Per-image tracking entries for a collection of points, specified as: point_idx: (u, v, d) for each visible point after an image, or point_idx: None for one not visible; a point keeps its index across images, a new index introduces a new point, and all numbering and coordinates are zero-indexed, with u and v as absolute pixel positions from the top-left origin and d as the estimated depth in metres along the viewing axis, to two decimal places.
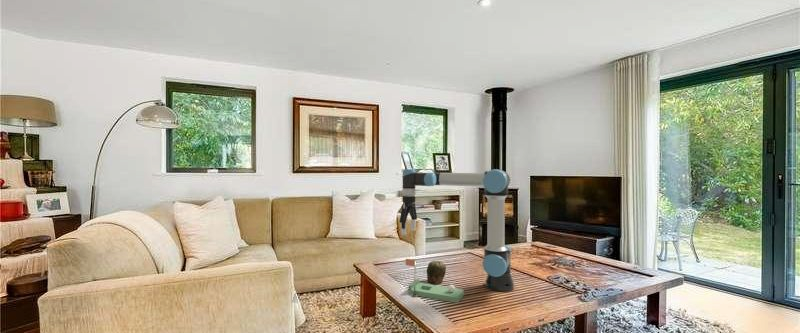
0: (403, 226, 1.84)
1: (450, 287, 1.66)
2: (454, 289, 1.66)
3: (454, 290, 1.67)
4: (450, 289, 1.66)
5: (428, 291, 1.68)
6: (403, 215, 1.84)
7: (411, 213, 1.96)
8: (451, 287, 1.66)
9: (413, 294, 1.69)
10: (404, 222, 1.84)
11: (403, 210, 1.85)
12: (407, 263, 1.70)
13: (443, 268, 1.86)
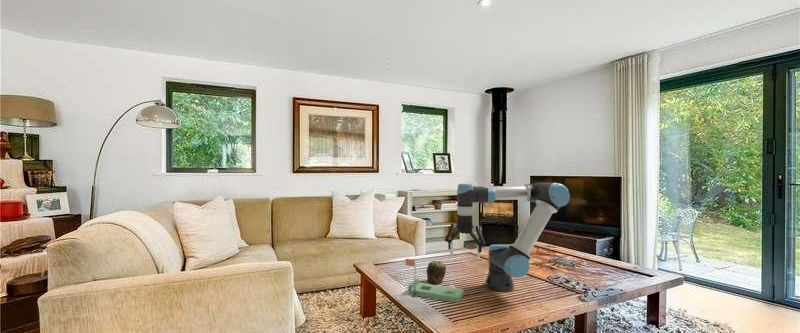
0: None
1: (450, 287, 1.66)
2: (454, 289, 1.66)
3: (454, 290, 1.67)
4: (450, 289, 1.66)
5: (428, 291, 1.68)
6: None
7: None
8: (451, 287, 1.66)
9: (413, 294, 1.69)
10: (448, 242, 1.68)
11: None
12: (407, 263, 1.70)
13: (443, 268, 1.86)
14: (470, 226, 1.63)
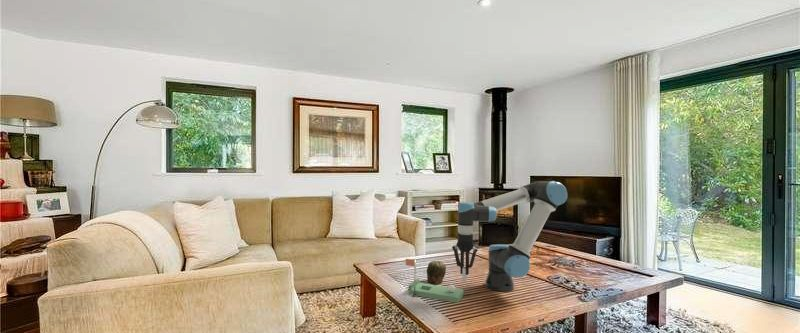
0: None
1: (450, 287, 1.66)
2: (454, 289, 1.66)
3: (454, 290, 1.67)
4: (450, 289, 1.66)
5: (428, 291, 1.68)
6: None
7: None
8: (451, 287, 1.66)
9: (413, 294, 1.69)
10: (461, 267, 1.65)
11: None
12: (407, 263, 1.70)
13: (443, 268, 1.86)
14: (471, 245, 1.63)
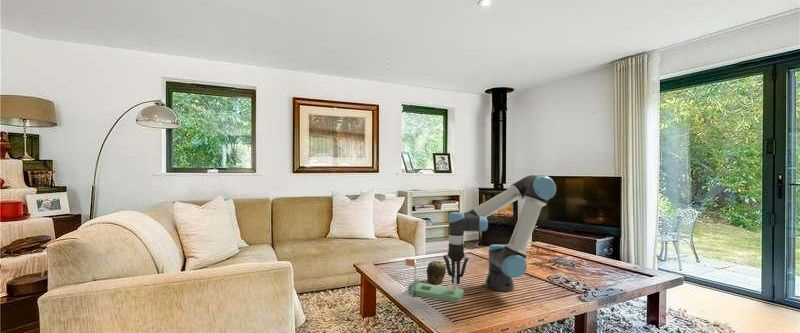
0: None
1: (449, 287, 1.66)
2: (453, 288, 1.67)
3: None
4: (449, 289, 1.66)
5: (428, 291, 1.68)
6: None
7: None
8: (450, 287, 1.66)
9: (413, 294, 1.69)
10: (452, 276, 1.66)
11: None
12: (407, 263, 1.70)
13: (443, 268, 1.86)
14: (461, 255, 1.65)
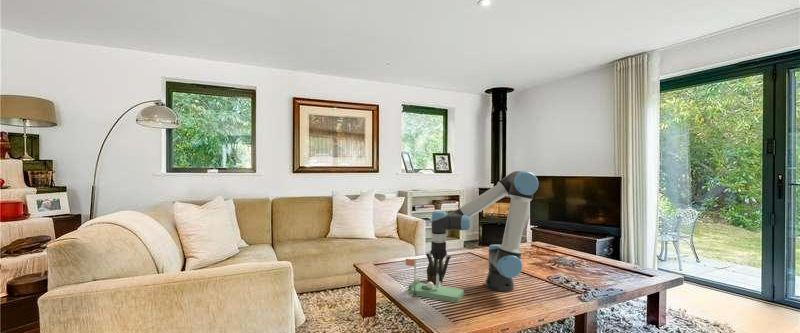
0: None
1: (428, 284, 1.71)
2: (433, 286, 1.71)
3: None
4: (429, 286, 1.71)
5: (428, 291, 1.68)
6: None
7: None
8: (430, 284, 1.71)
9: (413, 294, 1.69)
10: (434, 274, 1.70)
11: None
12: (407, 263, 1.70)
13: (443, 268, 1.86)
14: (444, 253, 1.68)
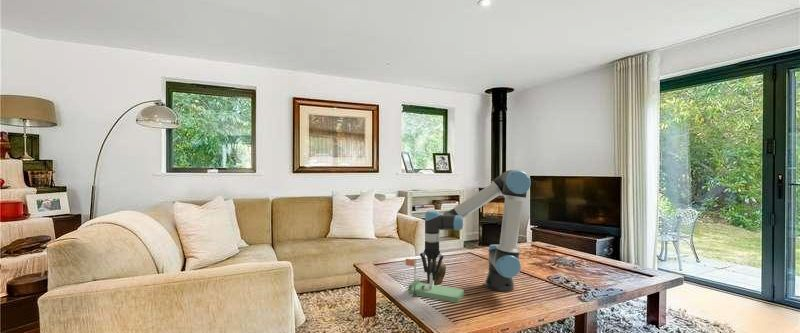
0: (428, 277, 1.72)
1: None
2: (427, 286, 1.72)
3: (428, 287, 1.72)
4: None
5: (428, 291, 1.68)
6: None
7: None
8: (424, 288, 1.72)
9: (413, 294, 1.69)
10: (428, 273, 1.72)
11: None
12: (407, 263, 1.70)
13: (443, 268, 1.86)
14: (437, 252, 1.70)
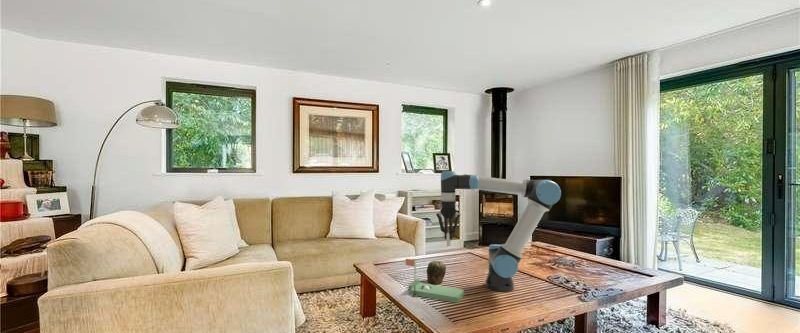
0: (445, 236, 1.74)
1: None
2: (426, 286, 1.72)
3: (427, 286, 1.72)
4: None
5: (428, 291, 1.68)
6: None
7: None
8: (423, 289, 1.72)
9: (413, 294, 1.69)
10: (445, 233, 1.74)
11: None
12: (407, 263, 1.70)
13: (443, 268, 1.86)
14: (453, 211, 1.72)
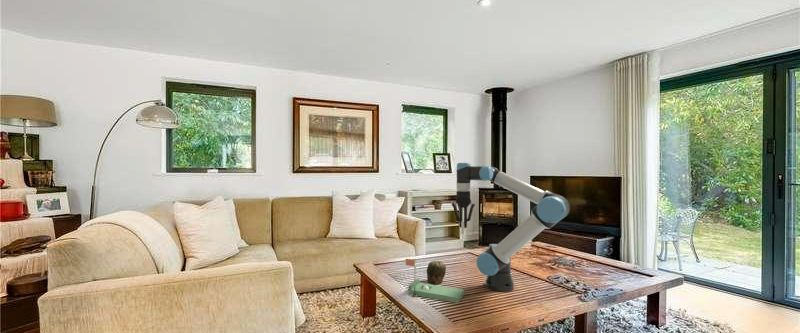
0: None
1: None
2: (425, 286, 1.73)
3: (426, 286, 1.73)
4: None
5: (428, 291, 1.68)
6: None
7: None
8: (423, 289, 1.72)
9: (413, 294, 1.69)
10: (459, 221, 1.81)
11: None
12: (407, 263, 1.70)
13: (443, 268, 1.86)
14: (468, 201, 1.80)
